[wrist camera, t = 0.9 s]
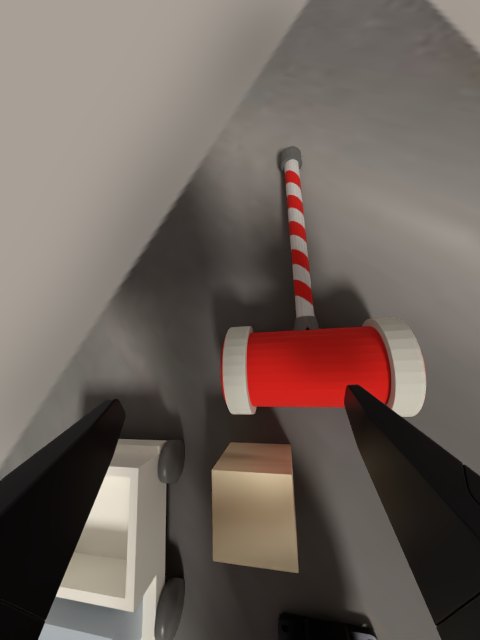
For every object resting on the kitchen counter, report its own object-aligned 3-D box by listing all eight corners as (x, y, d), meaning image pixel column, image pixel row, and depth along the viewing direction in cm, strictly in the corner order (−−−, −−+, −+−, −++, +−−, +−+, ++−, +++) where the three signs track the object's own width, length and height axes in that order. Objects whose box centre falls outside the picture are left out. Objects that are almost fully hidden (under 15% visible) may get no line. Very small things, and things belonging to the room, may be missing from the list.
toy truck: (184, 611, 18) (138, 724, 12) (79, 591, 20) (-1, 681, 14) (185, 434, 20) (146, 464, 15) (90, 432, 22) (24, 456, 17)
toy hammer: (233, 175, 24) (214, 111, 18) (354, 151, 22) (381, 69, 15) (240, 404, 20) (218, 425, 14) (388, 405, 18) (441, 431, 12)
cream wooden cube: (295, 514, 18) (298, 573, 13) (232, 508, 19) (213, 561, 14) (290, 444, 18) (291, 474, 14) (230, 442, 19) (211, 469, 15)
